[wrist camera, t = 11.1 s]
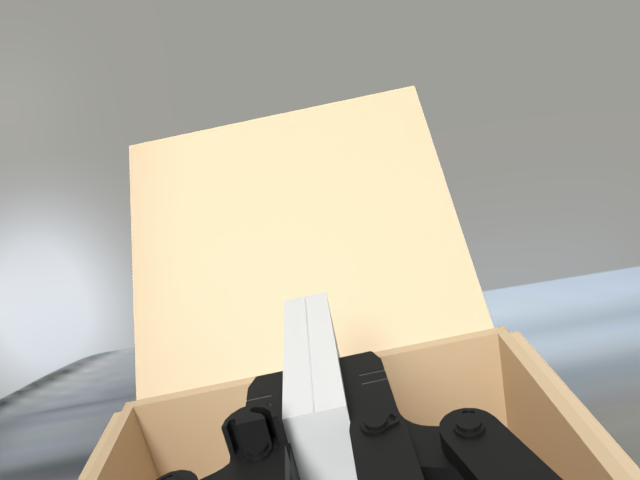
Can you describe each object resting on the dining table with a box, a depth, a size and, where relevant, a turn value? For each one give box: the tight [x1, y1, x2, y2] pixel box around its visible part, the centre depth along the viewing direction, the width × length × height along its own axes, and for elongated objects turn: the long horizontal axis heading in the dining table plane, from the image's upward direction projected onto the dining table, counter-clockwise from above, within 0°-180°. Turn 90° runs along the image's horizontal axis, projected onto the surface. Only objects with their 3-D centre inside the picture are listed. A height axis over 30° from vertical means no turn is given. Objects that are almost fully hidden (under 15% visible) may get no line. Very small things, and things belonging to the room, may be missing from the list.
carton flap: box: [129, 86, 494, 400], centre depth 33 cm, size 21×18×1 cm
